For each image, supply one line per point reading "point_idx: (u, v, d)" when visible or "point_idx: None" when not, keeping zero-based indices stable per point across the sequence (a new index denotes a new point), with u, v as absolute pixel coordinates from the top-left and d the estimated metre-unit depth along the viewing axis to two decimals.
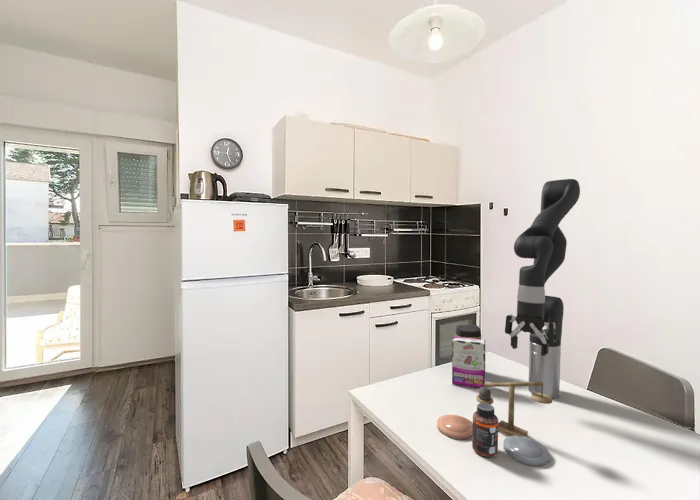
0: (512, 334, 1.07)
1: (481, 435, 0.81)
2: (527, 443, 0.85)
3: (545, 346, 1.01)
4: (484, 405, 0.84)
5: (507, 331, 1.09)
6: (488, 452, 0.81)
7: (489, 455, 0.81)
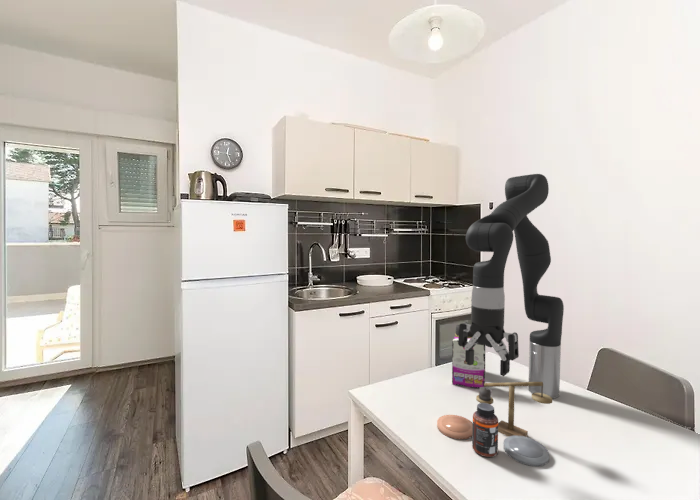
0: (466, 347, 0.86)
1: (481, 435, 0.81)
2: (527, 443, 0.85)
3: (505, 363, 0.79)
4: (484, 405, 0.84)
5: (461, 343, 0.87)
6: (488, 452, 0.81)
7: (489, 455, 0.81)
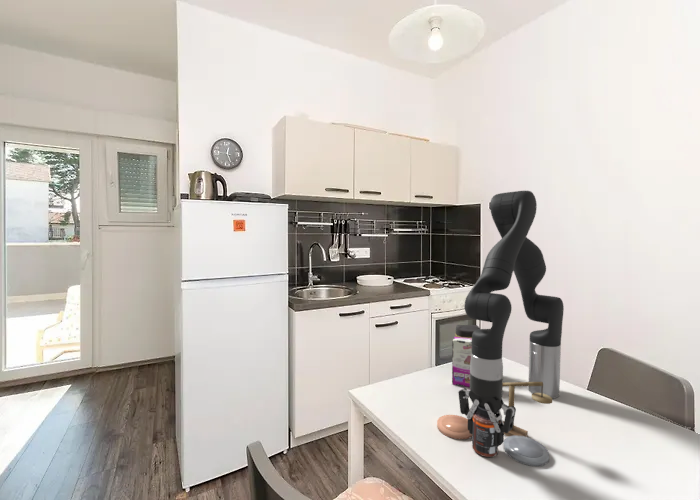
0: (469, 416, 0.86)
1: (481, 435, 0.81)
2: (527, 443, 0.85)
3: (499, 435, 0.80)
4: None
5: (463, 411, 0.87)
6: (488, 452, 0.81)
7: (489, 455, 0.81)
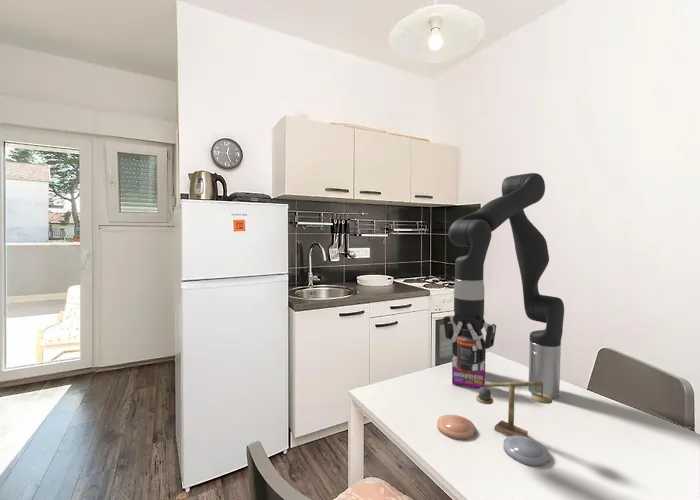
0: (453, 339, 0.91)
1: (465, 354, 0.86)
2: (527, 443, 0.85)
3: (481, 352, 0.86)
4: None
5: (448, 336, 0.92)
6: (471, 369, 0.86)
7: (472, 372, 0.86)
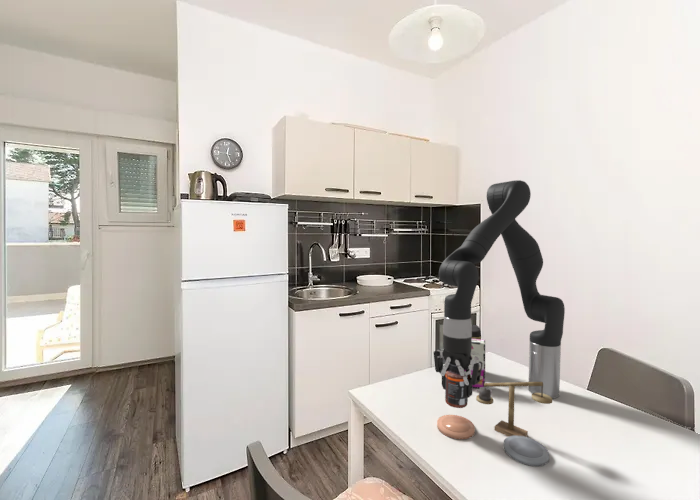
0: (442, 373, 0.95)
1: (452, 389, 0.91)
2: (527, 443, 0.85)
3: (468, 387, 0.90)
4: None
5: (437, 369, 0.96)
6: (458, 403, 0.90)
7: (459, 406, 0.90)
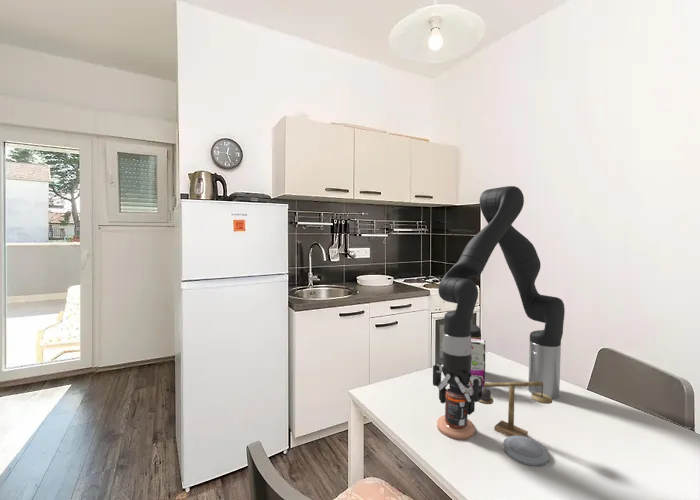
0: (440, 387, 0.96)
1: (452, 409, 0.91)
2: (527, 443, 0.85)
3: (470, 404, 0.89)
4: None
5: (435, 383, 0.97)
6: (458, 424, 0.91)
7: (459, 427, 0.91)
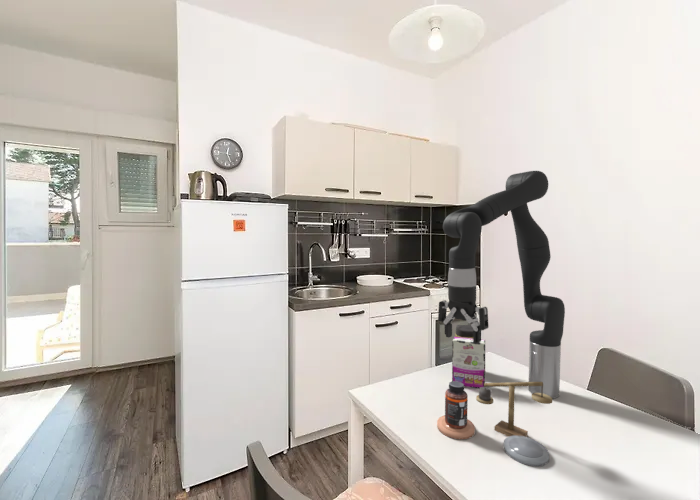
0: (445, 322, 0.98)
1: (452, 409, 0.91)
2: (527, 443, 0.85)
3: (477, 333, 0.91)
4: (455, 383, 0.93)
5: (440, 319, 0.99)
6: (458, 424, 0.91)
7: (459, 427, 0.91)
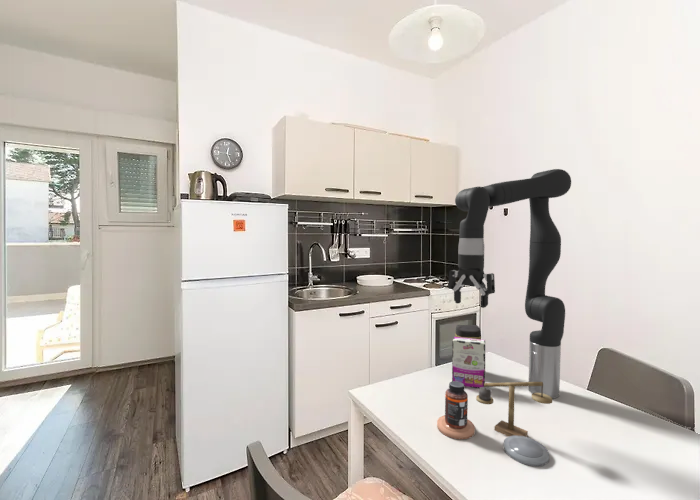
0: (455, 289, 1.07)
1: (452, 409, 0.91)
2: (527, 443, 0.85)
3: (484, 298, 1.00)
4: (456, 383, 0.93)
5: (450, 286, 1.08)
6: (458, 424, 0.91)
7: (459, 427, 0.91)
